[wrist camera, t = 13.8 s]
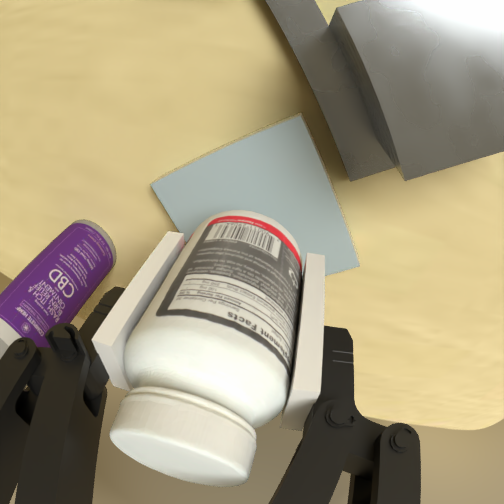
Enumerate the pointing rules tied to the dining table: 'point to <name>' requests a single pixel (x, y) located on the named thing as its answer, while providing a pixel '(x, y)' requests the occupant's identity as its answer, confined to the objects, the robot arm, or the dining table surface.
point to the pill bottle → (213, 352)
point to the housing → (404, 79)
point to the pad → (265, 190)
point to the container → (55, 284)
